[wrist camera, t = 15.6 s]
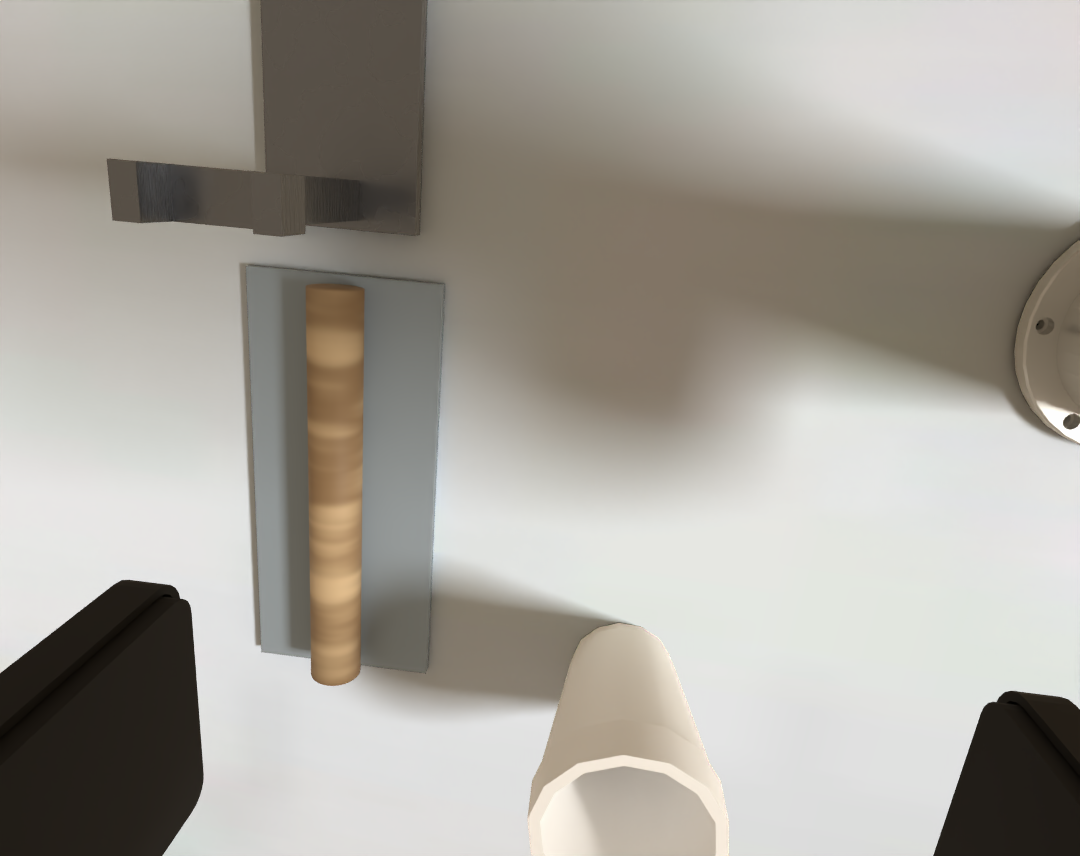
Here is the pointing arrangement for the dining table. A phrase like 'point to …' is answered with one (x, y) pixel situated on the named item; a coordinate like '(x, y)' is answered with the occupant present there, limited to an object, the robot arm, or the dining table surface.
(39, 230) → the dining table surface
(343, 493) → the oak dowel
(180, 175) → the cradle stands
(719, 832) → the foam cup
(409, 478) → the slate mat
